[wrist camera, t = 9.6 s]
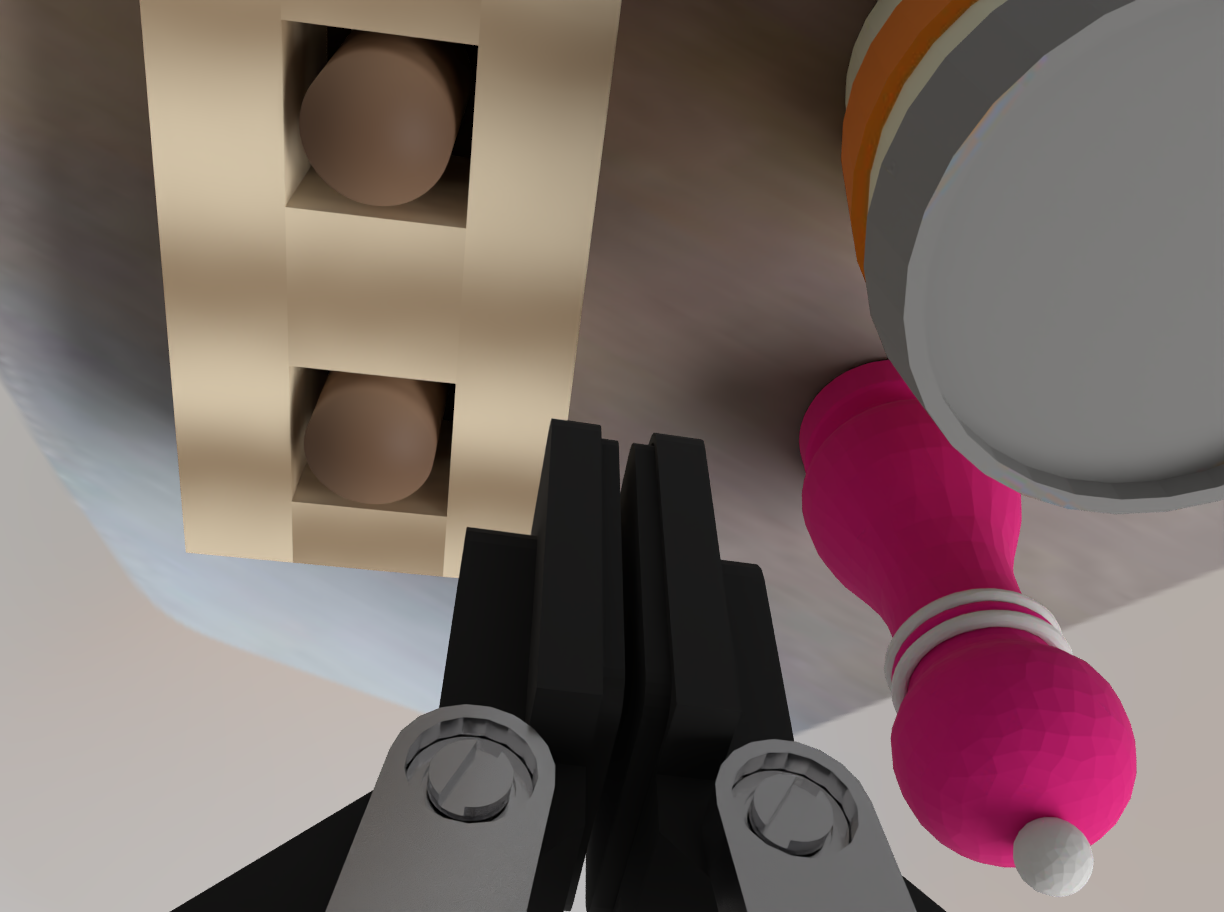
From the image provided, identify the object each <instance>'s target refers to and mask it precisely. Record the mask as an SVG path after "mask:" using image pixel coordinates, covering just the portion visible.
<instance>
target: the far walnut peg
mask: <svg viewBox="0 0 1224 912" xmlns="http://www.w3.org/2000/svg"><path fill="white" fill-rule="evenodd" d="M449 388H450V383H445V382H435V381H426V380H417V379H408V378H398V377H389V376H380V375H370V374H361V373H352V372H343V371H333V370H330V372H329V374H328V377H327V379H326V382H325V384H324V387H323V389H322V392H321V394H320V397H319V399H318V402H317V404H316V406H315V409H314V411H313V414H312V416H311V419H310V421H309V424H308V426H307V429H306V432H305V436H304V452H305V456H306V460H307V462H308V465H309V467H310V468H311V470H312V472H313V473H314V475H315V476H316V477H317V479H318V480H319V481H320V482H321V483H322V484H323V485H325V486H326V487H327V488H328V489H330V490H331V491H333V492H334V493H336V494H338V495H340V496H342V497H344V498H346V499H349V500H352V501H356V502H360V503H366V504H385V503H391V502H395V501H398V500H401V499H403V498H406V497H408V496H409V495H411V494H413V493H414V492H415V491H417V490H418V489H419V488H420V487H421V486H422V485H423V484H424V482H425V481H426V480H427V478H428V476H429V474H430V472H431V469H432V466H433V462H434V457H435V453H436V448H437V443H438V439H439V434H440V429H441V425H442V420H443V415H444V411H445V406H446V401H447V397H448V392H449Z"/></svg>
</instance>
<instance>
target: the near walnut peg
mask: <svg viewBox="0 0 1224 912" xmlns="http://www.w3.org/2000/svg"><path fill="white" fill-rule="evenodd" d="M471 87H472V69H471V64H470V60H469V56H468V54H467V51H466V49H465V47H464V45H463V43H456V42H448V41H440V40H433V39H425V38H418V37H410V36H402V35H395V34H387V33H380V32H372V31H364V30H357V29H353V30H352V32H351V33H350V34H349V35H348V37H347V38H346V39H345V41H344V42H343V43H342V45H341V46H340V47H339V48H338V50H337V51H336V52H335V54H334V55H333V56H332V58H331V59H330V60H329V61H328V63H327V64H326V65H325V67H324V68H323V69H322V71H321V72H320V73H319V74H318V76H317V77H316V78H315V80H314V81H313V82H312V84H311V85H310V87H309V88H308V90H307V92H306V94H305V96H304V99H303V102H302V105H301V110H300V118H299V128H300V136H301V141H302V145H303V148H304V151H305V153H306V156H307V158H308V160H309V162H310V163H311V165H312V166H313V168H314V169H315V171H316V172H317V173H318V175H319V176H320V177H321V178H322V179H323V180H324V181H325V182H326V183H327V184H328V185H329V186H330V187H332V188H333V189H334V190H336V191H337V192H338V193H340V194H342V195H344V196H345V197H347V198H350V199H352V200H354V201H357V202H360V203H363V204H368V205H373V206H394V205H399V204H404V203H407V202H410V201H412V200H414V199H416V198H418V197H420V196H422V195H423V194H424V193H426V192H427V191H428V190H430V189H431V188H432V187H433V186H434V185H435V184H436V182H437V181H438V180H439V179H440V177H441V176H442V174H443V172H444V171H445V168H446V166H447V164H448V161H449V158H450V155H451V152H452V149H453V146H454V143H455V140H456V137H457V134H458V131H459V128H460V124H461V121H462V118H463V115H464V112H465V109H466V106H467V103H468V100H469V96H470V93H471Z"/></svg>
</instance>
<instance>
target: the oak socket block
mask: <svg viewBox="0 0 1224 912" xmlns="http://www.w3.org/2000/svg"><path fill="white" fill-rule="evenodd" d="M621 1H622V0H140V12H141V24H142V36H143V48H144V60H145V72H146V84H147V95H148V107H149V119H150V131H151V143H152V155H153V167H154V179H155V190H156V202H157V214H158V226H159V238H160V250H161V262H162V274H163V285H164V297H165V309H166V321H167V333H168V345H169V357H170V369H171V381H172V392H173V404H174V416H175V428H176V440H177V452H178V464H179V476H180V487H181V499H182V511H183V523H184V535H185V547H186V552H187V553H197V554H208V555H219V556H229V557H240V558H250V559H261V560H272V561H282V562H293V563H304V564H314V565H325V566H336V567H346V568H357V569H367V570H378V571H389V572H399V573H410V574H421V575H431V576H442V577H452V578H459V573H460V566H461V560H462V553H463V547H464V540H465V534H466V528H467V527H473V528H480V529H488V530H496V531H503V532H511V533H519V534H527V535H531V530H532V524H533V518H534V512H535V506H536V501H537V495H538V489H539V483H540V477H541V472H542V466H543V460H544V454H545V448H546V443H547V437H548V431H549V426H550V422H551V419H552V418H553V419H560V420H568V413H569V405H570V397H571V389H572V382H573V374H574V366H575V358H576V351H577V343H578V335H579V327H580V320H581V312H582V304H583V296H584V288H585V281H586V273H587V265H588V257H589V250H590V242H591V234H592V226H593V219H594V211H595V203H596V195H597V188H598V180H599V172H600V164H601V157H602V149H603V141H604V133H605V126H606V118H607V110H608V102H609V94H610V87H611V79H612V71H613V63H614V56H615V48H616V40H617V32H618V25H619V17H620V9H621ZM327 26H334V27H342V28H349V29H357V30H364V31H372V32H380V33H387V34H395V35H402V36H410V37H418V38H425V39H433V40H440V41H448V42H456V43H463V44H471V45H478V60H477V75H476V90H475V105H474V120H473V135H472V150H471V158H469V157H461V156H453V155H450V158H449V161H448V164H447V166H446V168H445V171H444V172H443V174H442V176H441V177H440V179H439V180H438V181H437V182H436V184H435V185H434V186H433V187H432V188H431V189H430V190H428V191H427V192H426V193H424V194H423V195H422V196H420V197H418V198H416V199H414V200H412V201H410V202H407V203H404V204H399V205H394V206H373V205H368V204H363V203H360V202H357V201H354V200H352V199H350V198H347V197H345V196H344V195H342V194H340V193H338V192H337V191H336V190H334V189H333V188H332V187H330V186H329V185H328V184H327V183H326V182H325V181H324V180H323V179H322V178H321V177H320V176H319V175H318V173H317V172H316V171H315V169H314V168H313V166H312V165H311V163H310V162H309V160H308V158H307V156H306V153H305V151H304V148H303V145H302V141H301V136H300V128H299V118H300V110H301V105H302V102H303V99H304V96H305V94H306V92H307V90H308V88H309V87H310V85H311V84H312V82H313V81H314V80H315V78H316V77H317V76H318V74H319V73H320V72H321V71H322V69H323V68H324V67H325V65H326V64H327ZM328 370H333V371H343V372H352V373H361V374H370V375H380V376H389V377H398V378H408V379H417V380H426V381H435V382H445V383H454V384H456V389H455V404H454V419H453V421H449V420H442V425H441V429H440V434H439V439H438V443H437V448H436V453H435V457H434V462H433V466H432V469H431V472H430V474H429V476H428V478H427V480H426V481H425V482H424V484H423V485H422V486H421V487H420V488H419V489H418V490H417V491H415V492H414V493H413V494H411V495H409V496H408V497H406V498H403V499H401V500H398V501H395V502H391V503H385V504H366V503H360V502H356V501H352V500H349V499H346V498H344V497H342V496H340V495H338V494H336V493H334V492H333V491H331V490H330V489H328V488H327V487H326V486H325V485H323V484H322V483H321V482H320V481H319V480H318V479H317V477H316V476H315V475H314V473H313V472H312V470H311V468H310V467H309V465H308V462H307V460H306V456H305V452H304V436H305V432H306V429H307V426H308V424H309V421H310V419H311V416H312V414H313V411H314V409H315V406H316V404H317V402H318V399H319V397H320V394H321V392H322V389H323V387H324V384H325V382H326V379H327V377H328Z"/></svg>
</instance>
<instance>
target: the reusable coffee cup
mask: <svg viewBox="0 0 1224 912" xmlns="http://www.w3.org/2000/svg"><path fill="white" fill-rule="evenodd" d="M845 105H846V113H845V117H844V121H843V135H842V153H841V162H842V169H843V176H844V182H845V189H846V195H847V201H848V207H849V214H850V220H851V226H852V232H853V238H854V244H855V250H856V257H857V262H858V264H859V267H860V269H861V272H862V274H863V277H864V279H865V282H866V287H867V294H868V300H869V307H870V314H871V317H872V319H873V322H874V324H875V327H876V330H877V332H878V335H879V337H880V340H881V342H882V345H883V347H884V350H885V352H886V355H887V357H888V358H889V360H890V361H891V363H892V364H893V366H894V367H895V368H896V370H897V371H898V373H899V374H900V376H901V377H902V378H903V380H904V381H905V383H906V384H907V386H908V387H909V388H910V390H911V391H912V393H913V394H914V395H915V397H916V398H917V399H918V401H919V402H920V403H921V405H922V406H923V407H924V409H925V410H926V411H927V413H928V414H929V416H930V417H931V418H932V420H933V421H934V422H935V424H936V425H937V426H938V428H939V429H940V430H941V432H942V433H943V434H944V436H945V437H946V438H947V440H948V441H949V442H950V444H951V445H952V446H953V447H954V448H955V449H956V450H958V451H959V452H960V453H961V454H962V455H963V456H964V457H966V458H967V459H968V460H969V461H970V462H971V463H972V464H974V465H975V466H976V467H977V468H978V469H979V470H980V471H981V472H983V473H984V474H985V475H987V476H989V477H991V478H993V479H994V480H996V481H998V482H1000V483H1002V484H1004V485H1005V486H1007V487H1009V488H1011V489H1013V490H1015V491H1017V492H1018V493H1020V494H1022V495H1024V496H1027V497H1031V498H1034V499H1037V500H1041V501H1044V502H1047V503H1051V504H1054V505H1057V506H1060V507H1064V508H1067V509H1074V510H1083V511H1092V512H1101V513H1110V514H1129V513H1148V512H1167V511H1172V510H1177V509H1182V508H1187V507H1191V506H1196V505H1201V504H1206V503H1211V502H1216V501H1220V500H1223V499H1224V0H878V2H877V3H876V5H875V6H874V8H873V9H872V11H871V12H870V14H869V15H868V17H867V18H866V20H865V22H864V24H863V27H862V29H861V31H860V33H859V36H858V38H857V40H856V42H855V45H854V47H853V51H852V55H851V59H850V63H849V67H848V72H847V78H846V96H845Z"/></svg>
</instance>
